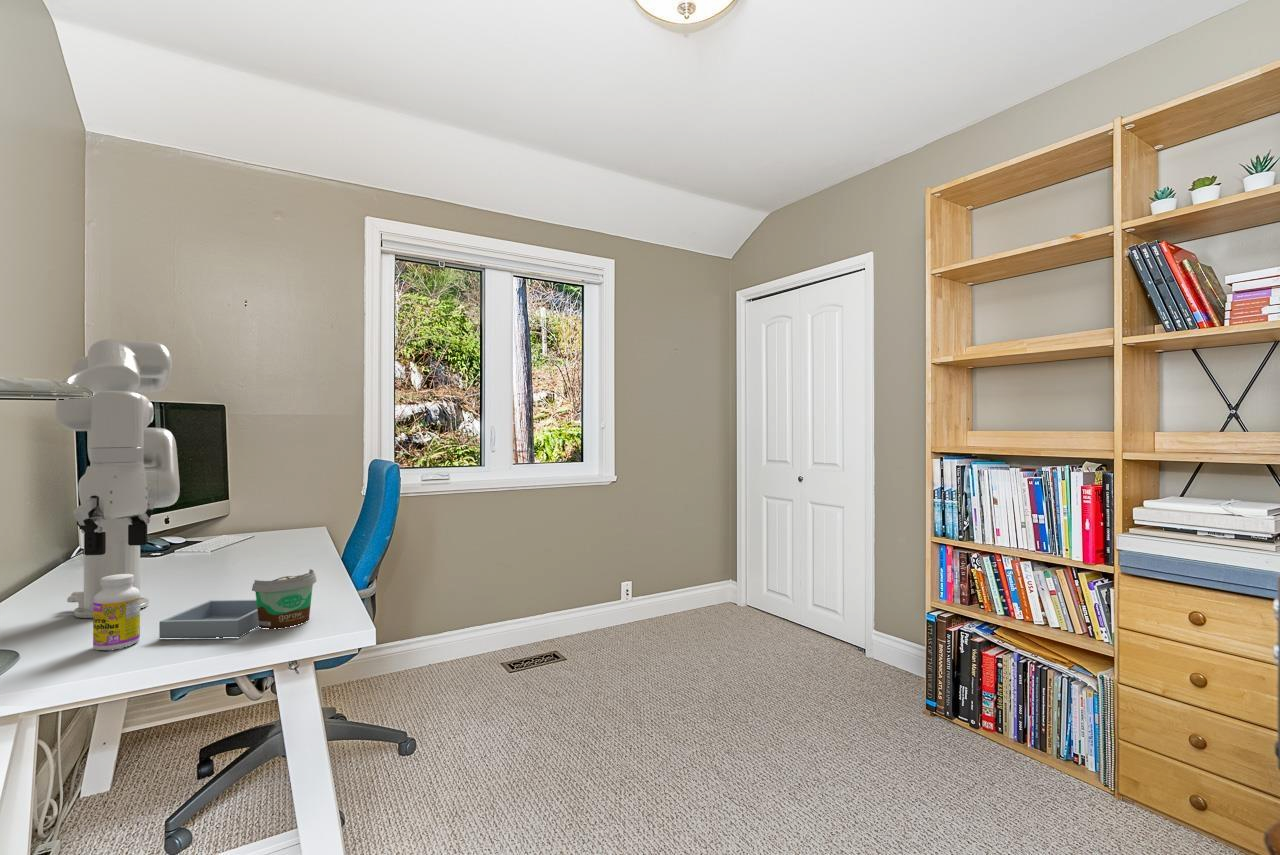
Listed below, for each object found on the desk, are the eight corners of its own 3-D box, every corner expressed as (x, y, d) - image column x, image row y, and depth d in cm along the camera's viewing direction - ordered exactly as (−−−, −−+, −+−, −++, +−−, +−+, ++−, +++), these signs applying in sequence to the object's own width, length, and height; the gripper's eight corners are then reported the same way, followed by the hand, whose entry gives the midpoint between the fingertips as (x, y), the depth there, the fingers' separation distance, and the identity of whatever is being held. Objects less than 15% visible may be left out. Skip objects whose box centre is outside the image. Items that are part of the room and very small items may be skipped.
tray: (159, 640, 116) (159, 621, 116) (209, 616, 131) (209, 600, 131) (238, 638, 117) (238, 620, 117) (279, 615, 132) (279, 599, 132)
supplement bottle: (82, 651, 110) (82, 580, 110) (116, 639, 117) (116, 572, 117) (117, 652, 110) (117, 581, 110) (149, 639, 116) (149, 572, 116)
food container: (267, 636, 119) (267, 584, 119) (251, 630, 122) (251, 580, 122) (328, 619, 129) (328, 572, 129) (312, 614, 132) (312, 568, 132)
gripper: (133, 456, 122) (132, 542, 122) (53, 459, 105) (53, 559, 104) (171, 455, 122) (171, 541, 122) (99, 458, 105) (99, 558, 105)
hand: (117, 549), depth 113 cm, fingers open, 9 cm apart
